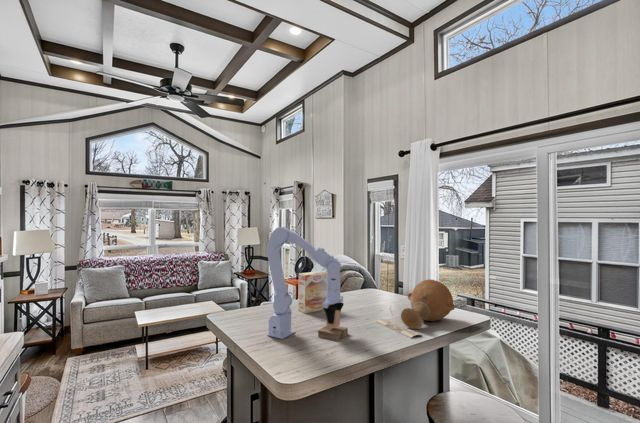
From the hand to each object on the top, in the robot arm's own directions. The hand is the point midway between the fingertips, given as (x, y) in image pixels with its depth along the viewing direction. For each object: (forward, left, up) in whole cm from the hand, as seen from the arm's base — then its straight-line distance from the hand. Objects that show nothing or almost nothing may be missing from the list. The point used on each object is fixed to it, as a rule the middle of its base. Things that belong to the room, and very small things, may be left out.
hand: (333, 321), depth 134 cm
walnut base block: (0, 0, -6) cm, 6 cm away
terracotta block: (0, 0, -1) cm, 1 cm away
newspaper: (+22, -20, -6) cm, 30 cm away
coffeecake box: (+29, +27, -6) cm, 40 cm away
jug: (+38, -28, -6) cm, 48 cm away
